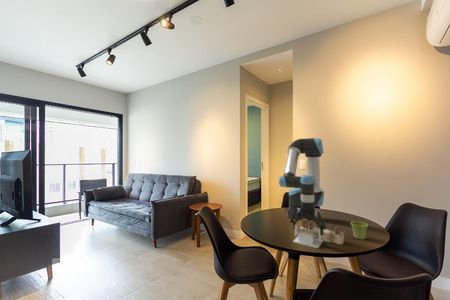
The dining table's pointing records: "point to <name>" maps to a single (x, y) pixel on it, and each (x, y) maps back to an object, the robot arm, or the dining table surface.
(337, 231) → the hand plane
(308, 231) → the lever cap
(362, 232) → the plant pot
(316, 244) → the rubber mat
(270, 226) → the dining table surface
